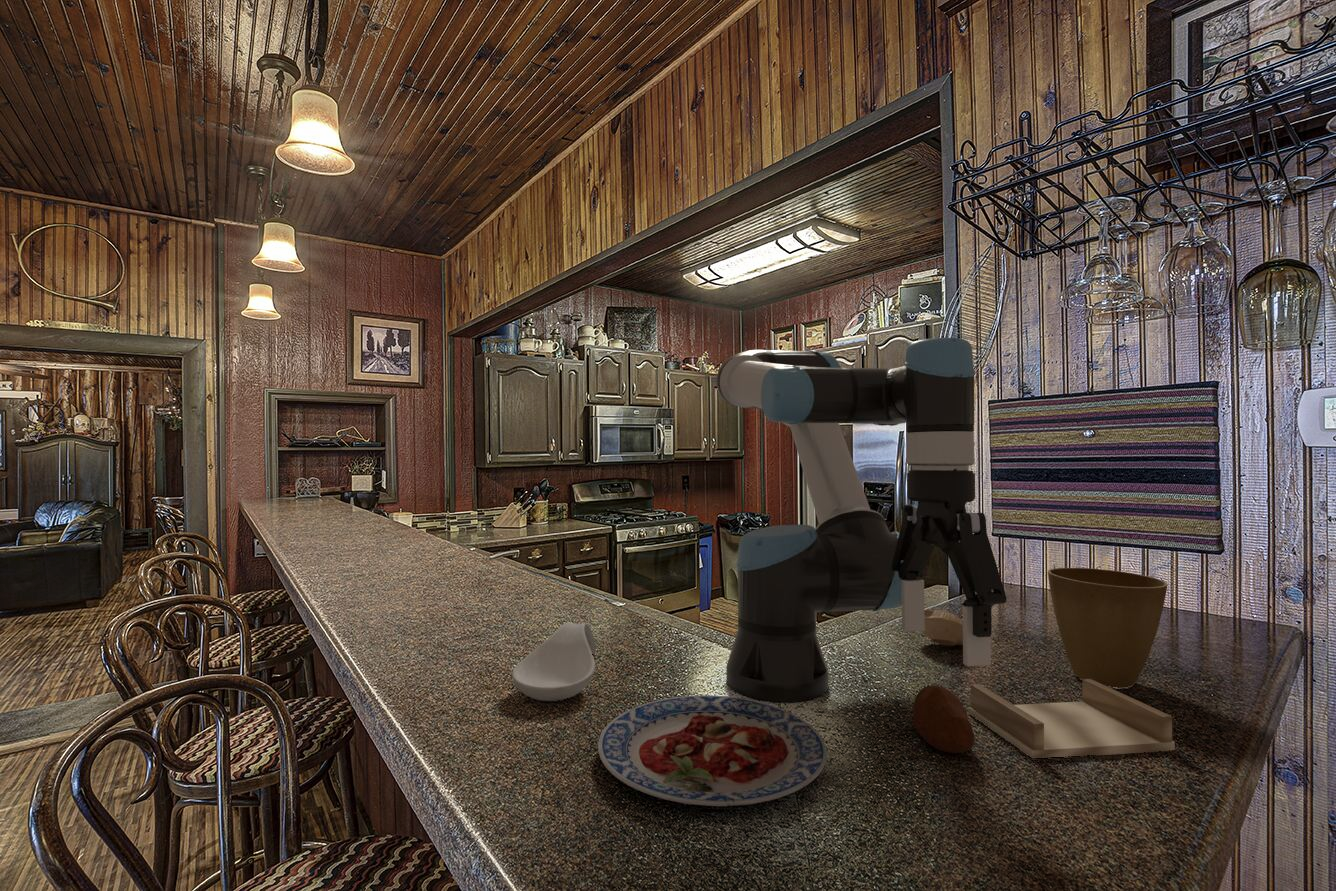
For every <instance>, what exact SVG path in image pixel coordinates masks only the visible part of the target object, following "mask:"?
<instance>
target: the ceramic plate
mask: <svg viewBox="0 0 1336 891" xmlns="http://www.w3.org/2000/svg"><path fill="white" fill-rule="evenodd" d="M597 744H598V745H597V746H598V749H597V750H598V754H599V759H600V760H601V763H602V764H603V765H604V767H605V769H606V770H608V772H610V774H612V775H613V776H614V777H615V778H617V779H618V780H619V781H621V782H622V783H624V784H625V785H627V786H629V787H631V788H632V789H635V790H636V791H640V792H642V793H644V794H645V795H646V794H647V795H650V796H652V797H656V798H659V799H662V800H666V801H672V802H676V803H680V804H686V805H697V806H707V807H708V806H709V807H729V806H731V807H732V806H743V805H754V804H759V803H764V802H769V801H773V800H777V799H780V798H783V797H785V796H788V795H790V794H793V793H796V792H798V791H799V790H801V789H803V788H805V787H806V786H808V785H810V784H811V783H812V782H813V781H814V780H815V779H817V777H818V776H819V775H820V774H821V773H822V771H823V770H824V769H825V768H824V767H825V766H826V762H827V756H828V752H827V745H826V743H825V741H824V739H823V737H822V736H821V734H820V733H819V732H818V730H816V729H815V728H814V727H813V725H811V723H808V722H807V721H805V720H803V719H802V718H801V717H800V716H797V715H796V714H794V713H792V712H789V711H787V710H785V709H782V708H780V707H778V706H775V705H772V704H768V703H765V702H763V701H756V700H753V699H749V698H748V699H747V698H743V697H735V696H733V697H732V696H726V695H708V694H707V695H706V694H703V695H701V694H700V695H685V696H684V695H683V696H675V697H668V698H664V699H658V700H653V701H650V702H647V703H643V704H639V705H637V706H636V707H633V708H631V709H628V710H626V711H624V712H622V713H620V714H619V715H618V716H616V717H614V719H613V720H611V721H610V722H609V723H608V724H606V726H605V727H603V729H602V731H601V733H600V736H599V738H598V743H597Z"/></svg>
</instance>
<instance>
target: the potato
mask: <svg viewBox="0 0 1336 891" xmlns="http://www.w3.org/2000/svg"><path fill="white" fill-rule="evenodd" d="M959 698H960V697H958V696H957V695H955V693H953V692H952V691H950V690H949V689H947V688H946V687H945V686H944V687H943V686H940V685H938V684H937V685H936V684H935V685H934V684H933V685H926V686H924V687H922V688H921V690H919V691H918V692H917V694H916V696H915V698H914V702H913V708H912V719H913V720H912V721H913V725H914V728H915V730H917V732H918V734H919V735H920V736H921V738H922V739H923V740H924V742H926V743H927V744H928V745H930V746H931V747H933V748H934V749H936V750H938V751H942V752H945V753H947V754H949V753H950V754H960V753H961V754H962V753H965V752H967V751H969V750H971V749H972V748H973V747H974V744H975V738H976V737H975V733H974V731H973V727H972V725H971V722H970V720H969V717H968V714H967V710H966V708H965V707H964V705H963V703H962V701H961V700H960V699H959Z"/></svg>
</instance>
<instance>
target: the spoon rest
mask: <svg viewBox="0 0 1336 891" xmlns="http://www.w3.org/2000/svg"><path fill="white" fill-rule="evenodd" d="M596 653H597V649H596V640H595V638H594V634H593V631H592V629H591V626H590V625H589V624H588V623H587V622H581V623H574V622H570V621H569V622H565V623H563V624H562V625H561V626H560V627H559V628H557V630H556V631H555V632H554V633H552V634H551V635H550V636H549V637H548V638H546V639H545V640H544V641H543V642H542V643H541V644H540V645H539V646H537V647H536V648H535V649H534V650H532V651H531V652H530V653H529V654H527V655H526V656H525V657H524V658H523V659H522V660H520V661H519V662H518V663H517V664H516V666H515V667H514V668H513V670H512V672H511V678H512V682H513V683H514V685H515V686H516V687H517V689H519V691H520V692H522V693H523V694H524V695H525V696H527V697H529V698H531V699H534V700H536V701H542V702H543V701H544V702H559V701H558V700H560V701H563V700H564V699H565V700H567V698H568V699H570V698H573V697H575V696H576V695H578V694H579V693H580V692H582V691H583V690H584V689H585V688H586V687H587V686H588V685H589V683H590V682H591V680H592V678H593V676H594V674H595V670H596V663H595V659H594V655H596ZM592 654H594V655H592ZM565 700H564V701H565Z"/></svg>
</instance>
